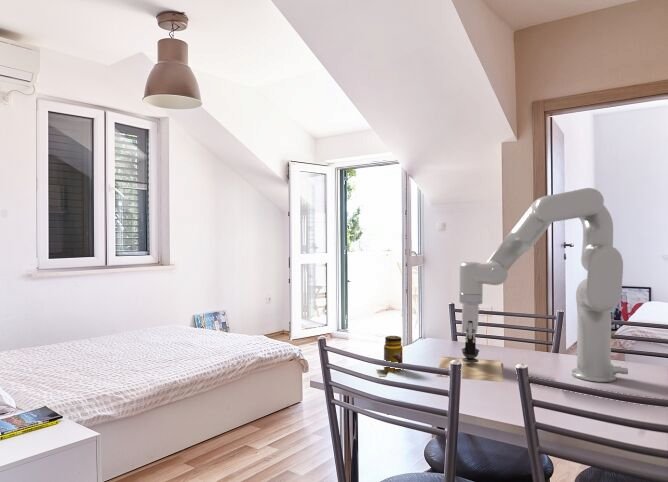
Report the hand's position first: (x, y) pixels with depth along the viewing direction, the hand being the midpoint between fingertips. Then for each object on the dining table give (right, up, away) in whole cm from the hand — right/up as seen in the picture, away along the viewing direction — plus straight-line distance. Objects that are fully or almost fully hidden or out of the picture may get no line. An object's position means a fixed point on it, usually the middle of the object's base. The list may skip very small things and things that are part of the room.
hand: (470, 351), depth 167 cm
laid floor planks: (-3, -6, -11) cm, 13 cm away
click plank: (0, -5, 0) cm, 6 cm away
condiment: (-28, -6, -5) cm, 29 cm away
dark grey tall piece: (0, -3, 0) cm, 3 cm away
